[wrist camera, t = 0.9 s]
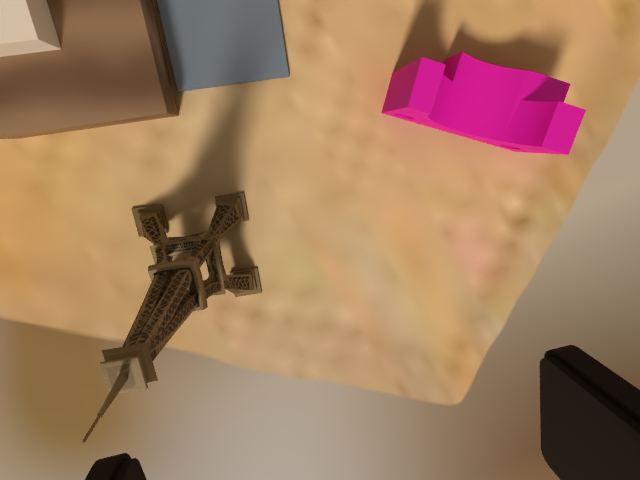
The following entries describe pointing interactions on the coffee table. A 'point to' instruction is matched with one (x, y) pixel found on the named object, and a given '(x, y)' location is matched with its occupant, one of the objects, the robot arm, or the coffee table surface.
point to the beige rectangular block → (26, 27)
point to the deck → (88, 72)
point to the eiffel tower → (174, 292)
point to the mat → (223, 41)
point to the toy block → (486, 103)
